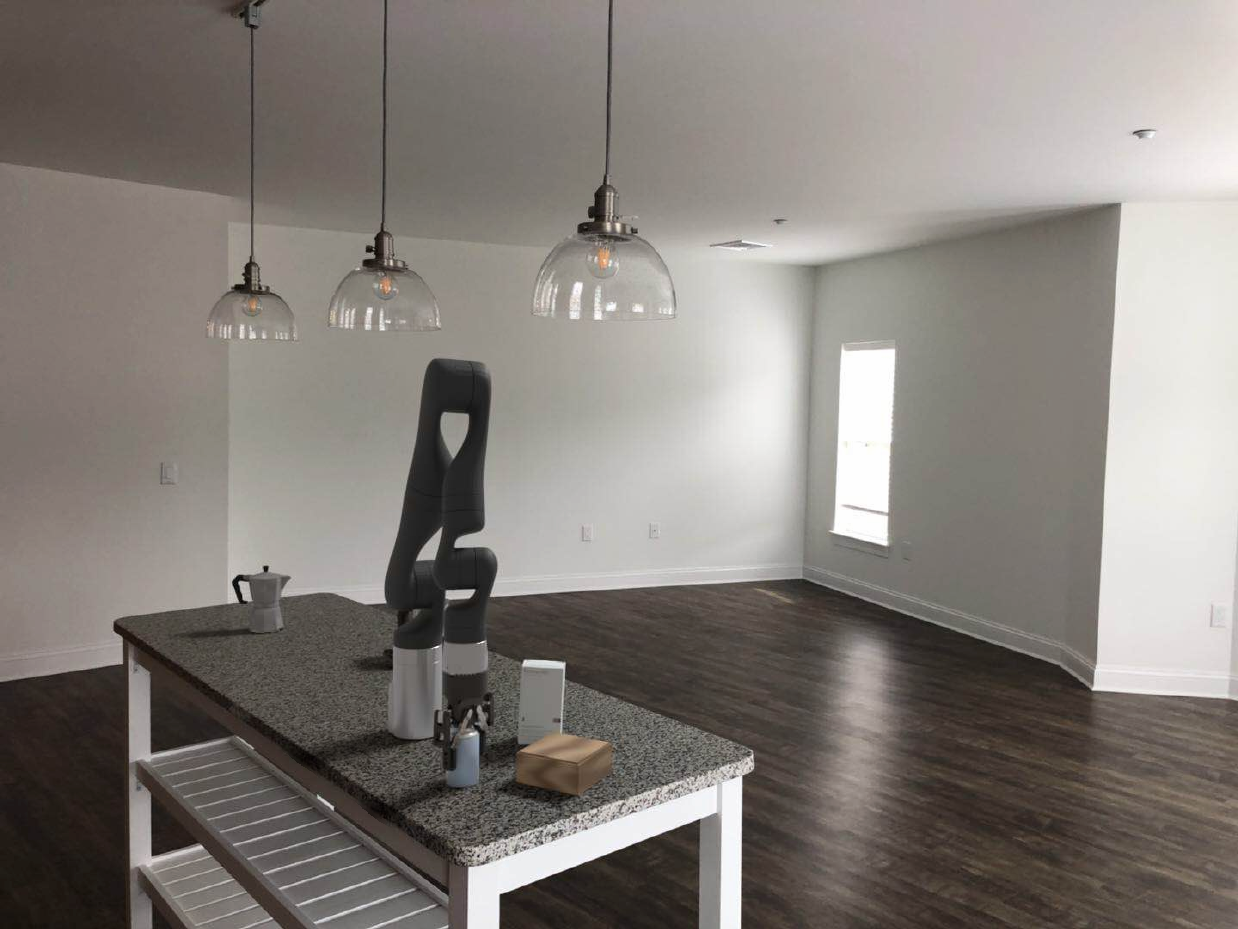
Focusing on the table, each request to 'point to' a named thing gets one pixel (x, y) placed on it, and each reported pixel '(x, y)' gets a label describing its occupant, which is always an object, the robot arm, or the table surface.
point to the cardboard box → (564, 763)
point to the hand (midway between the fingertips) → (464, 762)
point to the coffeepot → (263, 598)
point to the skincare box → (540, 699)
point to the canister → (465, 760)
